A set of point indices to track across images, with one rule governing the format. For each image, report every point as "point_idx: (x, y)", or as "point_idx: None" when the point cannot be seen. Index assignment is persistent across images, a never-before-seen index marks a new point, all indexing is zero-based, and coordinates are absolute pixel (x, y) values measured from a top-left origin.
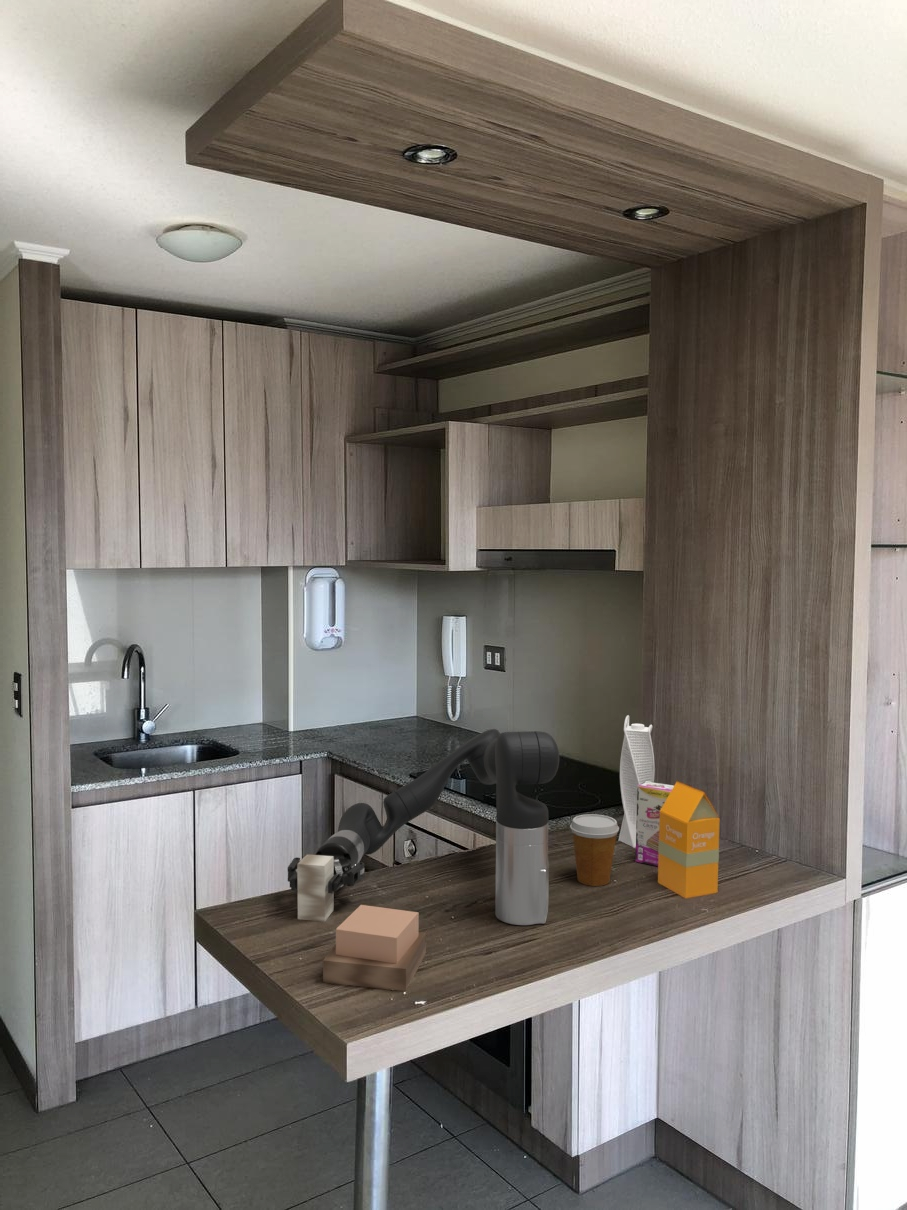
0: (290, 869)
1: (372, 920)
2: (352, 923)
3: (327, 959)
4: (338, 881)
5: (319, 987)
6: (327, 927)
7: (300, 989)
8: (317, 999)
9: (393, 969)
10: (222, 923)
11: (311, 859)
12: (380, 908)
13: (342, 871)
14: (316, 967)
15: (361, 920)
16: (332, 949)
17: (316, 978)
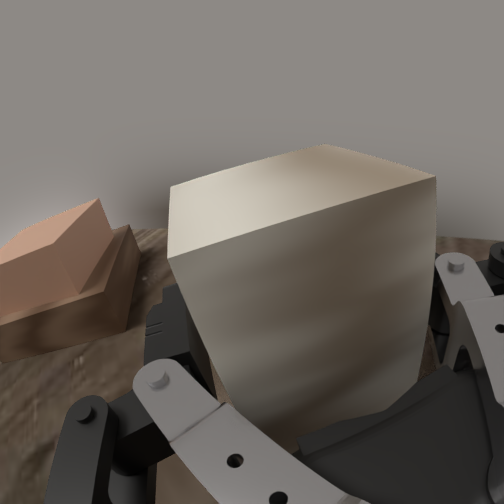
0: (491, 249)
1: (42, 231)
2: (73, 213)
3: (123, 227)
4: (146, 329)
5: (142, 247)
6: (216, 372)
7: (164, 236)
8: (138, 238)
9: None
10: (461, 247)
11: (310, 169)
12: (19, 255)
13: (147, 408)
14: (162, 265)
15: (59, 222)
16: (121, 238)
17: (152, 253)
